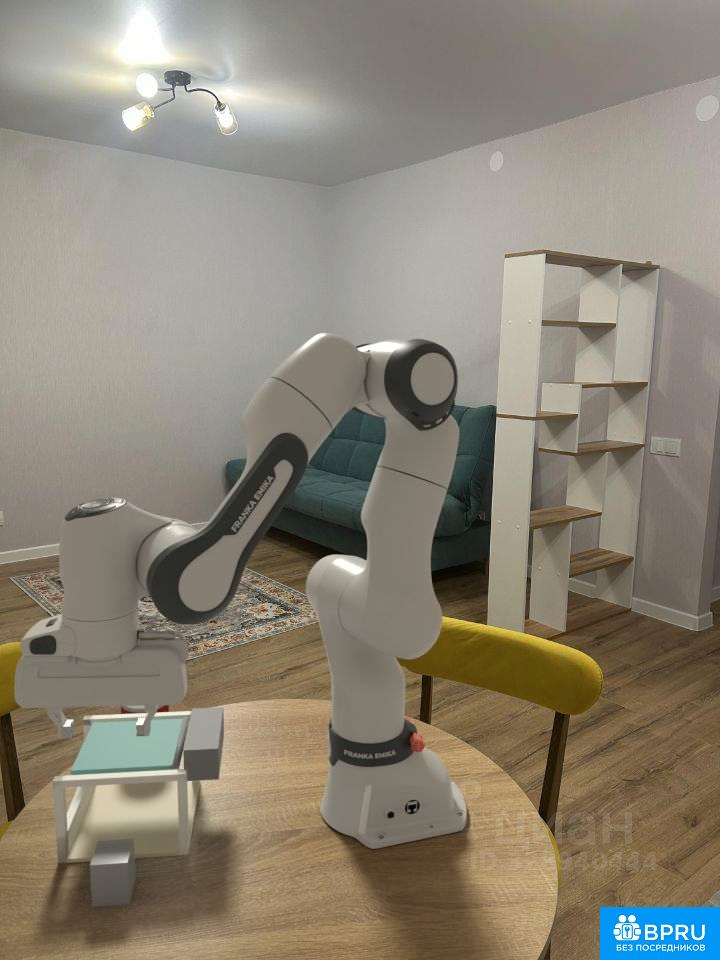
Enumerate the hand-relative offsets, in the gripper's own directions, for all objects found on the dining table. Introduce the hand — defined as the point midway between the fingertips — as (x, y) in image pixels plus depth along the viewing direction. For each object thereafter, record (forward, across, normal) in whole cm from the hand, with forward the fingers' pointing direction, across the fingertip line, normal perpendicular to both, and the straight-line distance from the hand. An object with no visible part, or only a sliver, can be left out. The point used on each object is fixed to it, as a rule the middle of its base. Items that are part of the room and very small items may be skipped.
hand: (105, 735), depth 92 cm
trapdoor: (+12, -3, -15) cm, 19 cm away
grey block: (+22, 0, 0) cm, 22 cm away
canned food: (+22, +1, -32) cm, 39 cm away
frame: (+22, 0, -15) cm, 27 cm away
